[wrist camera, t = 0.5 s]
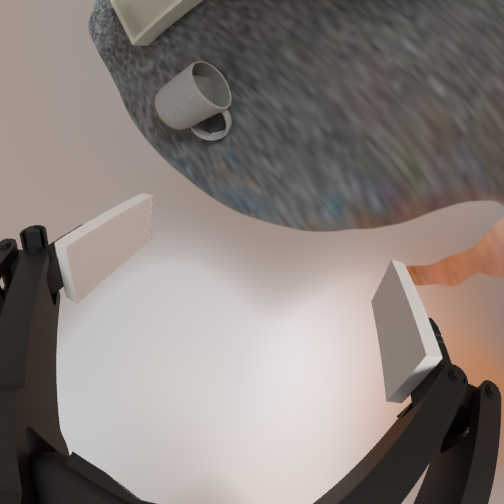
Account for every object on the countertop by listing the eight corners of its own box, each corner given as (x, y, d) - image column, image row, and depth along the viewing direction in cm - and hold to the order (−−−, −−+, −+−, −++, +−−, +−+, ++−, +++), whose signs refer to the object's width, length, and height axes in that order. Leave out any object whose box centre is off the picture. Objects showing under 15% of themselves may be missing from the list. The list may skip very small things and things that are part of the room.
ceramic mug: (174, 89, 35) (139, 94, 29) (216, 61, 30) (183, 58, 25) (204, 147, 39) (173, 161, 33) (249, 124, 34) (223, 133, 28)
